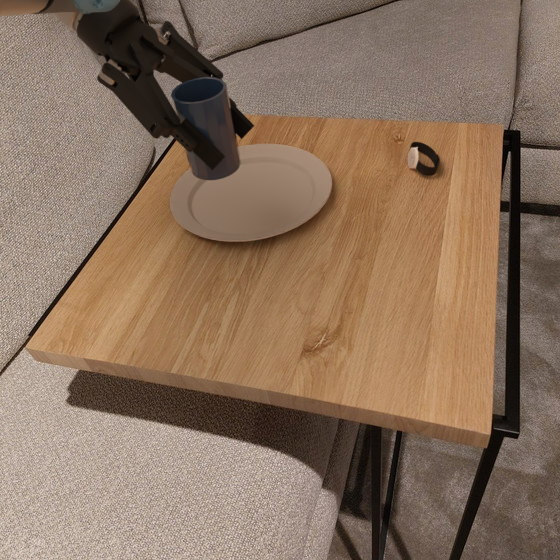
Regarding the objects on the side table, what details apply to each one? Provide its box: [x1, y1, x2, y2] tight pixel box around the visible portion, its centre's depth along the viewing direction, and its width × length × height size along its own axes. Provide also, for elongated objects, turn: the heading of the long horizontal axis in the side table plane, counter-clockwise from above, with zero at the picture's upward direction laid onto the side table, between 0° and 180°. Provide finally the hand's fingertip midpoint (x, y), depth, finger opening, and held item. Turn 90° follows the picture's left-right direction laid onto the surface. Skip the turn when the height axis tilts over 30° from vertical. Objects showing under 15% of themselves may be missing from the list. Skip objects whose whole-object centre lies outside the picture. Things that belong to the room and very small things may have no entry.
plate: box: [169, 143, 333, 243], centre depth 92 cm, size 26×26×2 cm
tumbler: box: [170, 76, 241, 180], centre depth 75 cm, size 7×7×11 cm
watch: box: [407, 141, 441, 177], centre depth 92 cm, size 8×5×4 cm, turn 7°
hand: (233, 147), depth 75 cm, fingers closed on tumbler, 7 cm apart
